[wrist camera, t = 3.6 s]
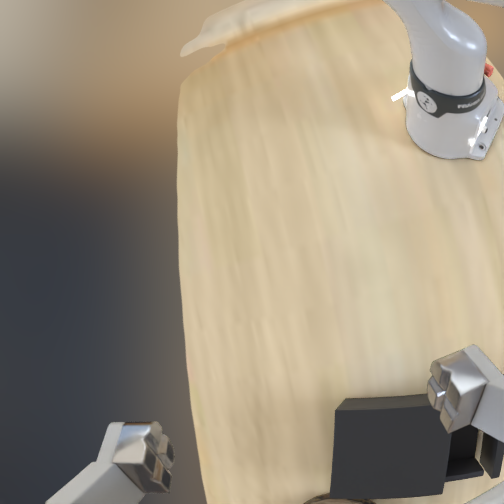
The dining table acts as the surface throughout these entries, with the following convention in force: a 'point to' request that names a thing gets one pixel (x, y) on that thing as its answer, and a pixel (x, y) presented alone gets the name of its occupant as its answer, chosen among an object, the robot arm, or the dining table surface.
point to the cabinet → (388, 448)
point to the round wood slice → (337, 500)
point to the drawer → (473, 455)
